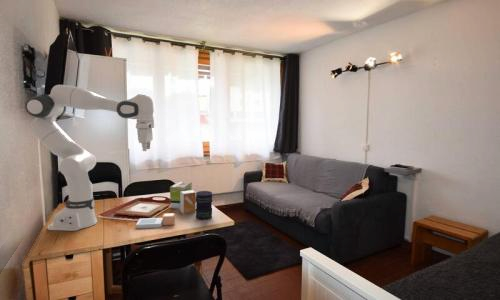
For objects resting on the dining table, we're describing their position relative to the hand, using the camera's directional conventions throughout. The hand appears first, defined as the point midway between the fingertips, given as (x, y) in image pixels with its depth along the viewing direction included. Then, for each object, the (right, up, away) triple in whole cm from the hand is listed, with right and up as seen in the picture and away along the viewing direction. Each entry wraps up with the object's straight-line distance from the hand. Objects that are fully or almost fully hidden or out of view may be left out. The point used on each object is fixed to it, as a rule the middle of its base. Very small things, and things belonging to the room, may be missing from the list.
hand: (146, 150), depth 149 cm
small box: (+18, -40, +23) cm, 49 cm away
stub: (+11, -41, +3) cm, 43 cm away
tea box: (+10, -38, +36) cm, 53 cm away
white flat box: (+2, -41, +1) cm, 41 cm away
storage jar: (+29, -41, +14) cm, 52 cm away
